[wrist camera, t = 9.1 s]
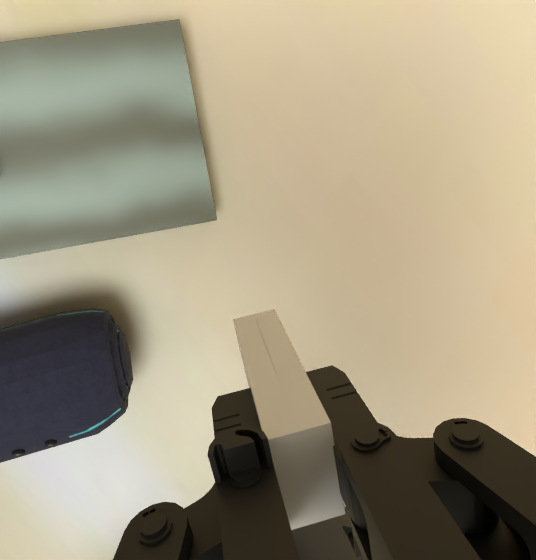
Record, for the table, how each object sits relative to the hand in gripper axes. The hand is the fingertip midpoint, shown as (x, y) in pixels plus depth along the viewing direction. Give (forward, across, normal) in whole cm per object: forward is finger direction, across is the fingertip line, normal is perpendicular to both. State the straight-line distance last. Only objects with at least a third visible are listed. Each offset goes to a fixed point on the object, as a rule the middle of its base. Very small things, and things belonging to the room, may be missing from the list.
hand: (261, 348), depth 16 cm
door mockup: (+24, +17, -8) cm, 30 cm away
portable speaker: (+25, +22, +9) cm, 34 cm away
